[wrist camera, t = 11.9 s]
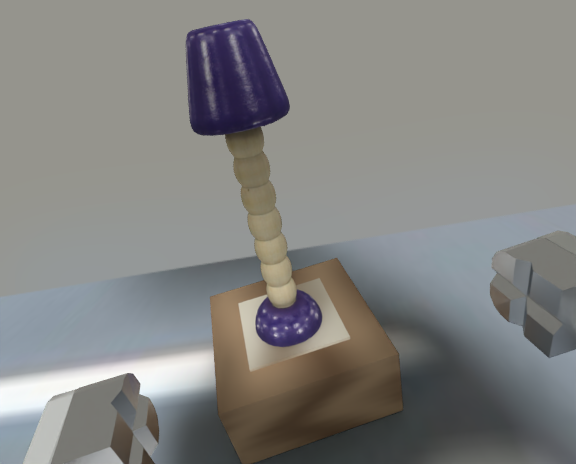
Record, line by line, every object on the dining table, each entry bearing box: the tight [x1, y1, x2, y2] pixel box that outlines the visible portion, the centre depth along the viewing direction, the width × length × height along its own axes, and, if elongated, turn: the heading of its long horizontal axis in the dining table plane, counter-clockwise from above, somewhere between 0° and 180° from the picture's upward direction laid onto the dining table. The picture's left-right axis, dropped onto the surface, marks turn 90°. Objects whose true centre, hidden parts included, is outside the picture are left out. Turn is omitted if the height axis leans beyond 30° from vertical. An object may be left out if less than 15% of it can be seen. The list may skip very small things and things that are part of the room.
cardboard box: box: [210, 258, 403, 464], centre depth 25 cm, size 10×10×5 cm
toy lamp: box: [186, 19, 322, 347], centre depth 20 cm, size 5×5×17 cm
